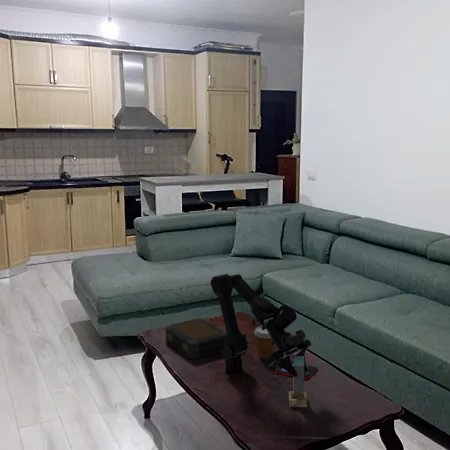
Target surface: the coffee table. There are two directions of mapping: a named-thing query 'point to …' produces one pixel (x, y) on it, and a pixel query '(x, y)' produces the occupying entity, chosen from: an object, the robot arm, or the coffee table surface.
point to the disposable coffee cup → (263, 343)
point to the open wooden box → (297, 399)
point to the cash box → (196, 338)
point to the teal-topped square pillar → (299, 368)
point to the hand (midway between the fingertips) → (301, 374)
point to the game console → (281, 371)
